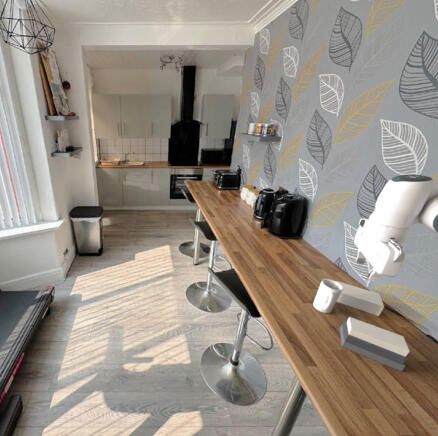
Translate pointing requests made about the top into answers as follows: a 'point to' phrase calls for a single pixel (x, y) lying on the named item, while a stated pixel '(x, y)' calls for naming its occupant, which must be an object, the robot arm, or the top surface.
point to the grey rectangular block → (371, 350)
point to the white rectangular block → (360, 299)
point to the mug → (327, 295)
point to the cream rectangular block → (377, 336)
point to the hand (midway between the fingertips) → (365, 271)
